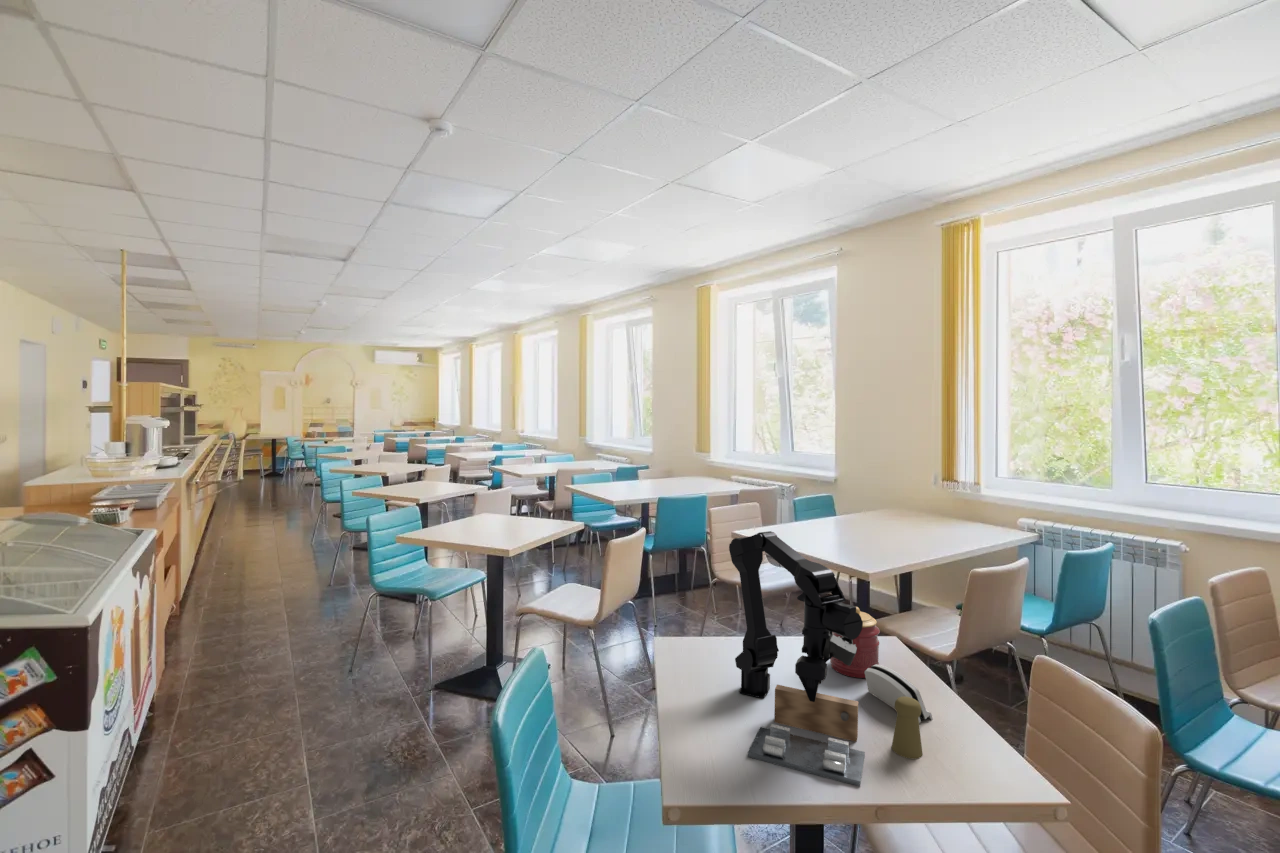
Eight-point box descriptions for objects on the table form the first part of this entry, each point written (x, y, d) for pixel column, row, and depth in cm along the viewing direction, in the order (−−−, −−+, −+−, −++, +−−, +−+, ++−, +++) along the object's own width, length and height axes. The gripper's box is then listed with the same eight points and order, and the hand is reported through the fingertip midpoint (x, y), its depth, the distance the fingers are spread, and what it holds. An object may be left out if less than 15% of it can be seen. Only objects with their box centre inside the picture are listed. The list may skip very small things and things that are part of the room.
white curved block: (934, 720, 138) (923, 682, 136) (919, 730, 136) (908, 692, 135) (883, 688, 153) (873, 654, 152) (869, 697, 152) (859, 662, 151)
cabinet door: (773, 725, 135) (773, 690, 135) (776, 718, 138) (777, 684, 138) (856, 745, 127) (856, 708, 127) (857, 737, 130) (858, 701, 130)
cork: (886, 743, 128) (887, 693, 128) (912, 742, 128) (913, 692, 128) (900, 759, 122) (902, 706, 122) (928, 758, 122) (929, 706, 122)
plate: (747, 756, 122) (748, 740, 122) (760, 731, 132) (760, 715, 132) (860, 786, 113) (860, 768, 112) (864, 756, 122) (864, 740, 122)
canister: (838, 655, 174) (839, 596, 174) (884, 667, 167) (885, 605, 166) (823, 670, 164) (824, 608, 164) (871, 683, 156) (873, 618, 156)
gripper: (850, 645, 121) (848, 720, 121) (858, 617, 138) (856, 683, 138) (795, 635, 125) (794, 707, 126) (809, 609, 142) (808, 673, 143)
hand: (815, 692), depth 133 cm, fingers open, 9 cm apart
